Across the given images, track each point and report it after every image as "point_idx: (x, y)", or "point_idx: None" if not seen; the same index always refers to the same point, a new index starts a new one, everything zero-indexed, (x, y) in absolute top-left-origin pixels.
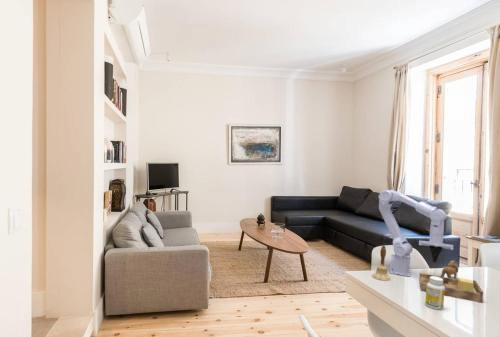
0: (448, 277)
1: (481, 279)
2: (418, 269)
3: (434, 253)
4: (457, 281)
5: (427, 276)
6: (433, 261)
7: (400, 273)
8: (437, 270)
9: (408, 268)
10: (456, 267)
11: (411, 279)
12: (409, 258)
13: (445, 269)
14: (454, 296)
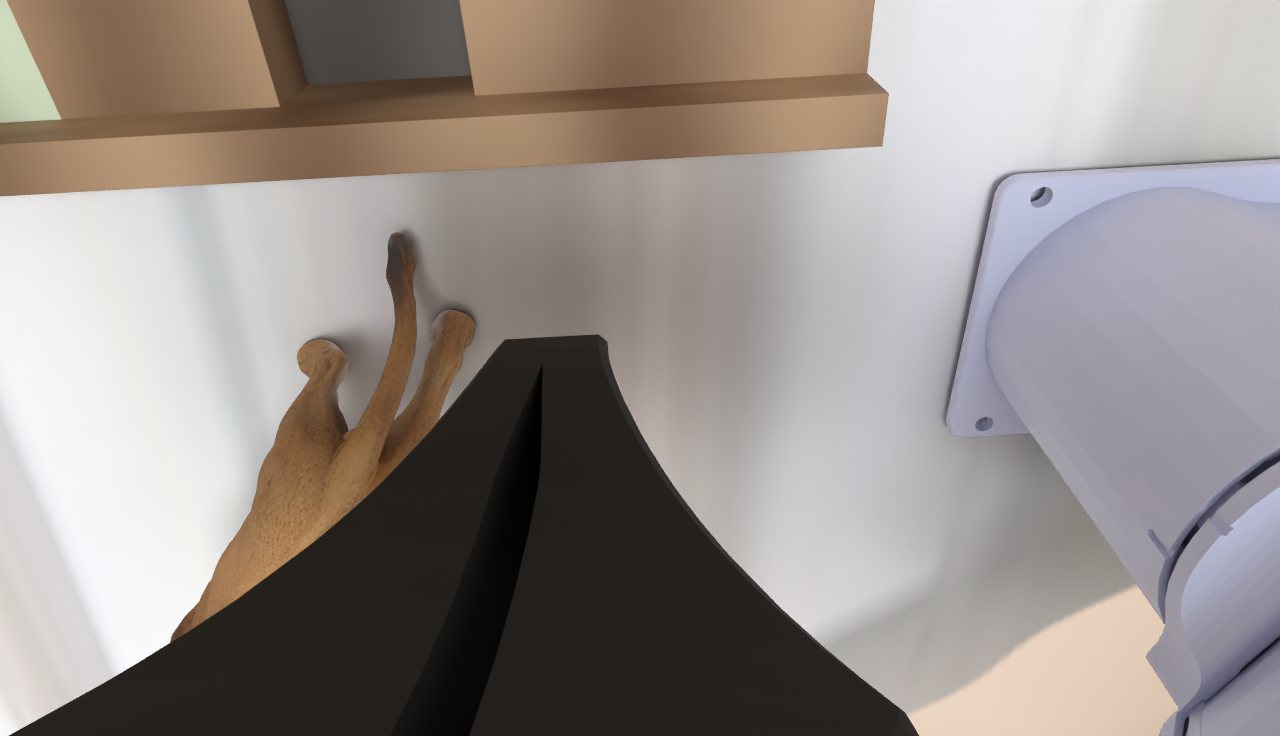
0: (318, 377)
1: (26, 702)
2: None
3: (553, 548)
4: (67, 131)
5: (705, 90)
6: (590, 343)
7: (1191, 190)
8: None
9: (1085, 315)
10: None
11: (1002, 18)
12: (1226, 479)
13: (335, 472)
14: None
